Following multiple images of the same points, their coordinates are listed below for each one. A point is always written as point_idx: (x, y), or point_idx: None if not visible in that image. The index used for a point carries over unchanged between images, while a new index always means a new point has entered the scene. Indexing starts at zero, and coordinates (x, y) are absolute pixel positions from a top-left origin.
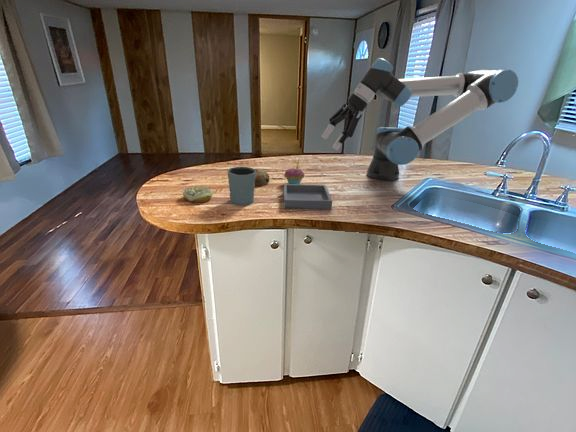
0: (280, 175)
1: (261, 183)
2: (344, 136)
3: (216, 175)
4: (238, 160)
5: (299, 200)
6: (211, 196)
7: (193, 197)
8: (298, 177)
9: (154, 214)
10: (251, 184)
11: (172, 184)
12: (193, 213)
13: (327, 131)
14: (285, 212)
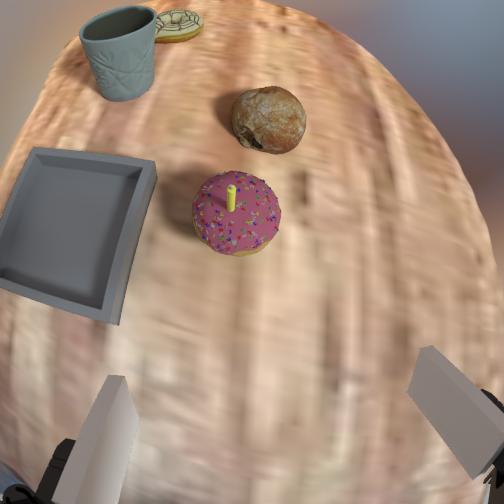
0: (339, 208)
1: (232, 123)
2: (37, 495)
3: (322, 66)
4: (444, 140)
5: (15, 184)
6: (161, 40)
7: None
8: (192, 218)
9: None
10: (89, 60)
11: (261, 15)
12: None
13: (452, 404)
14: None
